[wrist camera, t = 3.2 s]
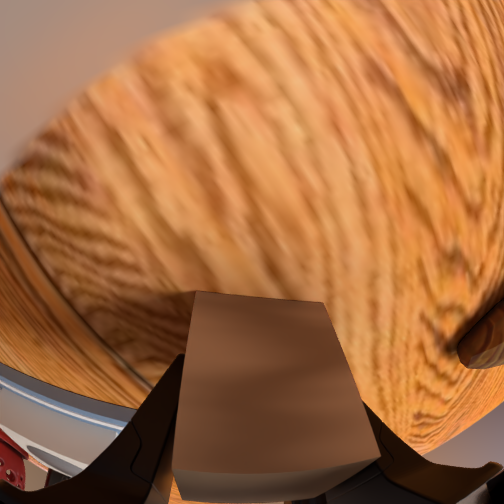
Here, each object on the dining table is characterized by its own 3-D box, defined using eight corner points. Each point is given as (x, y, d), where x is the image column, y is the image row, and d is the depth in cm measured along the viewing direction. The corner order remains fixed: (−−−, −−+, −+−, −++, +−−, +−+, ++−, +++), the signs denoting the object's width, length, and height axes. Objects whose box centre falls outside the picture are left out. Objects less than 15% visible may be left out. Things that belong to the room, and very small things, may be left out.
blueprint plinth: (145, 411, 13) (134, 472, 9) (165, 471, 19) (162, 505, 16) (-19, 352, 11) (-41, 390, 7) (44, 435, 17) (35, 464, 14)
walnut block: (322, 302, 10) (380, 456, 4) (291, 377, 12) (314, 497, 6) (196, 290, 9) (171, 468, 4) (192, 371, 11) (182, 500, 6)
